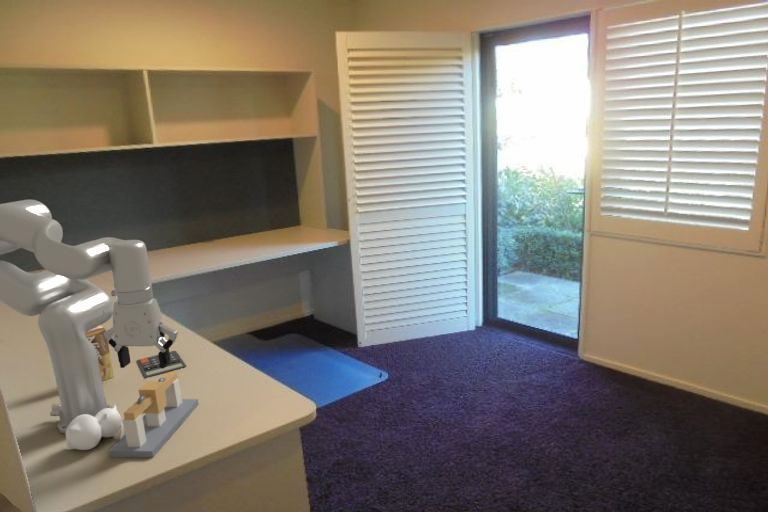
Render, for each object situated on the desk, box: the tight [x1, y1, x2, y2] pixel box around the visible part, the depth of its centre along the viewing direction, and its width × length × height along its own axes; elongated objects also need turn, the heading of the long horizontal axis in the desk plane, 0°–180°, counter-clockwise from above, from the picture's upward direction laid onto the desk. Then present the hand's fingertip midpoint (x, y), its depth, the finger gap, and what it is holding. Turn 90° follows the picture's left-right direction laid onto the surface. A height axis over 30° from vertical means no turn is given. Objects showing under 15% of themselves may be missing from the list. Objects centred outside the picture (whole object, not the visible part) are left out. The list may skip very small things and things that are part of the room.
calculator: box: [136, 350, 187, 379], centre depth 169 cm, size 12×1×15 cm
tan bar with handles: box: [123, 371, 179, 420], centre depth 130 cm, size 4×20×6 cm, turn 174°
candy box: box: [85, 325, 115, 382], centre depth 158 cm, size 9×4×15 cm, turn 137°
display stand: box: [108, 378, 200, 458], centre depth 131 cm, size 10×23×8 cm, turn 174°
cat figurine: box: [65, 404, 125, 451], centre depth 126 cm, size 9×11×12 cm
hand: (145, 365), depth 128 cm, fingers open, 9 cm apart
